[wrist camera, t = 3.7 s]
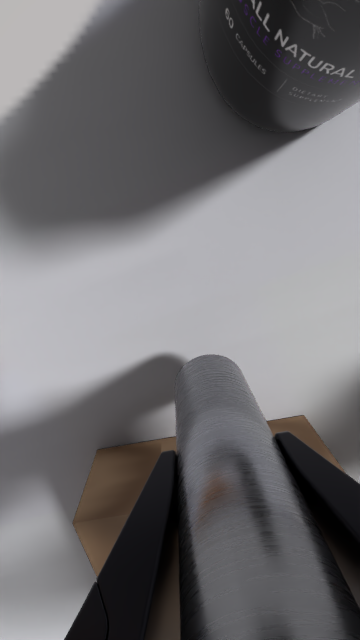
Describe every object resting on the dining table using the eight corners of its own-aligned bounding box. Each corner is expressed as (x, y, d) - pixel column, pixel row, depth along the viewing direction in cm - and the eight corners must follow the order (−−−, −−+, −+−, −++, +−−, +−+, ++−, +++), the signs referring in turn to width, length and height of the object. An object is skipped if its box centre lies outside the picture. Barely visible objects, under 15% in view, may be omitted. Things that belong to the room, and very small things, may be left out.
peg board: (303, 415, 15) (349, 478, 11) (308, 599, 21) (339, 683, 17) (97, 449, 15) (72, 523, 11) (159, 621, 21) (157, 708, 17)
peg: (240, 348, 11) (766, 1247, 1) (247, 408, 12) (571, 1166, 2) (168, 361, 11) (150, 1285, 1) (181, 419, 12) (223, 1197, 2)
